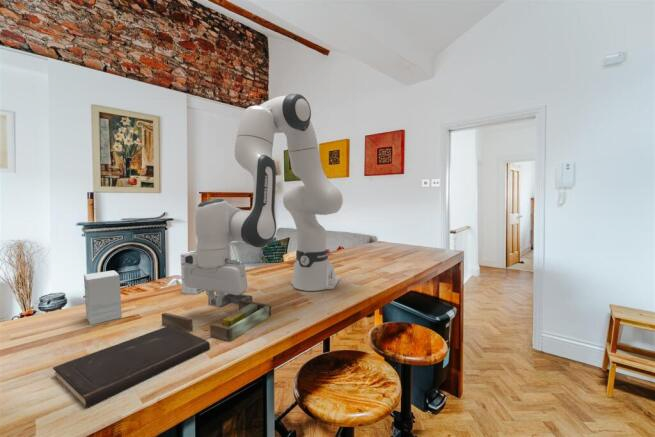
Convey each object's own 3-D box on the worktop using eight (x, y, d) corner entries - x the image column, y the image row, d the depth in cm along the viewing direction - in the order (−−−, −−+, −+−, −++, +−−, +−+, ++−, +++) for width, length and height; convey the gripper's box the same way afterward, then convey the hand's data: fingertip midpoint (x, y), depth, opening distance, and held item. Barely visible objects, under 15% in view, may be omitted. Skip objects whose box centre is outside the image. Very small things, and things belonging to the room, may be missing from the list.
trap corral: (220, 299, 100) (220, 290, 100) (279, 309, 91) (279, 300, 91) (162, 324, 80) (161, 313, 80) (229, 341, 71) (229, 329, 71)
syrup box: (196, 294, 105) (195, 253, 104) (181, 293, 106) (180, 253, 105) (205, 289, 111) (204, 251, 110) (191, 288, 112) (190, 250, 111)
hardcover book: (53, 378, 57) (52, 367, 57) (171, 333, 76) (171, 324, 76) (86, 412, 48) (85, 398, 48) (210, 351, 68) (209, 341, 67)
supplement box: (117, 310, 90) (115, 269, 89) (122, 318, 84) (120, 274, 83) (85, 317, 84) (83, 273, 83) (88, 325, 79) (86, 279, 78)
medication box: (251, 316, 87) (250, 302, 87) (258, 317, 86) (258, 304, 86) (223, 334, 76) (222, 318, 75) (231, 335, 75) (231, 320, 74)
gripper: (251, 258, 82) (253, 306, 83) (196, 252, 90) (198, 297, 91) (236, 263, 76) (237, 315, 77) (178, 256, 84) (180, 304, 85)
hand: (216, 305), depth 84 cm, fingers closed
